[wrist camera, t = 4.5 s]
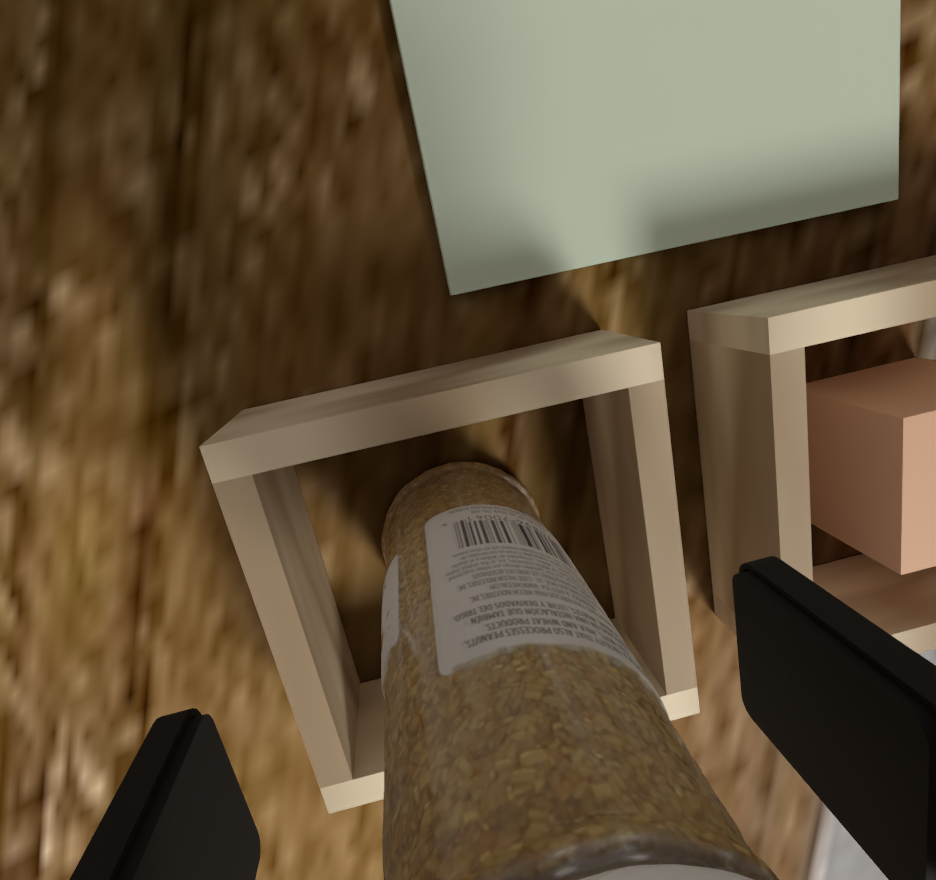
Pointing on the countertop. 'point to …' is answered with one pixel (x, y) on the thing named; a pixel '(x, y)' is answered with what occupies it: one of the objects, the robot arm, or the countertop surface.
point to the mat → (642, 123)
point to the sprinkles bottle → (524, 709)
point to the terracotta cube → (876, 461)
